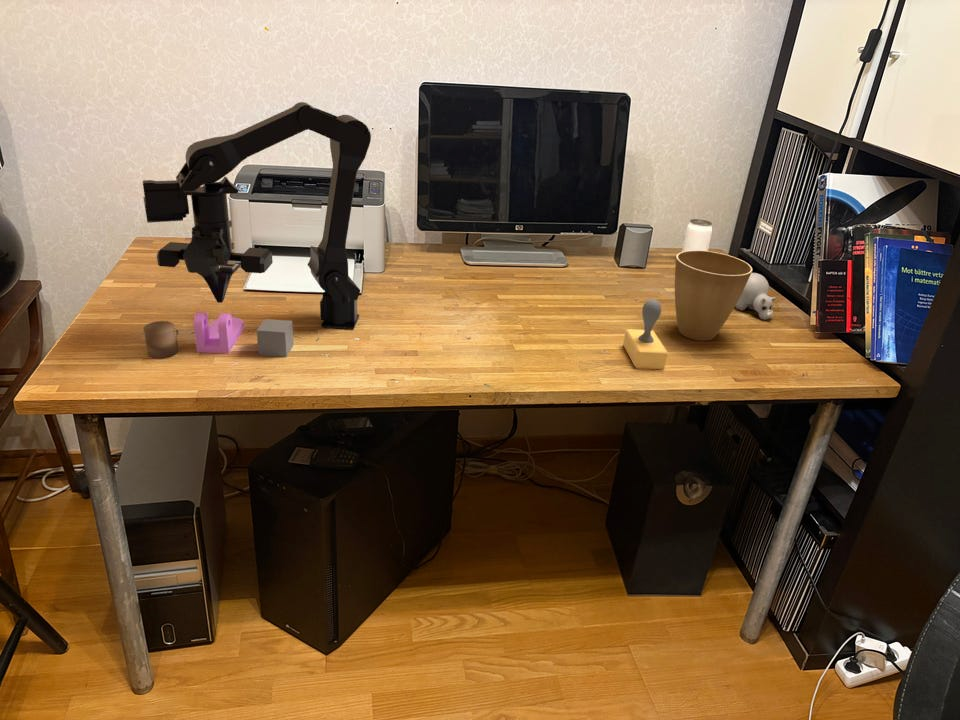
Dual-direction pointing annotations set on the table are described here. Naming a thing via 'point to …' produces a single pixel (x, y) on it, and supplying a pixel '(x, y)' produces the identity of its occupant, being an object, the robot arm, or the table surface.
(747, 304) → the chubby cartoon animal
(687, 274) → the plant pot
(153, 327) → the walnut cylinder
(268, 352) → the grey cube
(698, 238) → the can
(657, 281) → the table surface
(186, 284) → the table surface
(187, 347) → the table surface
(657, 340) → the rubber stamp
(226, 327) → the bracket
